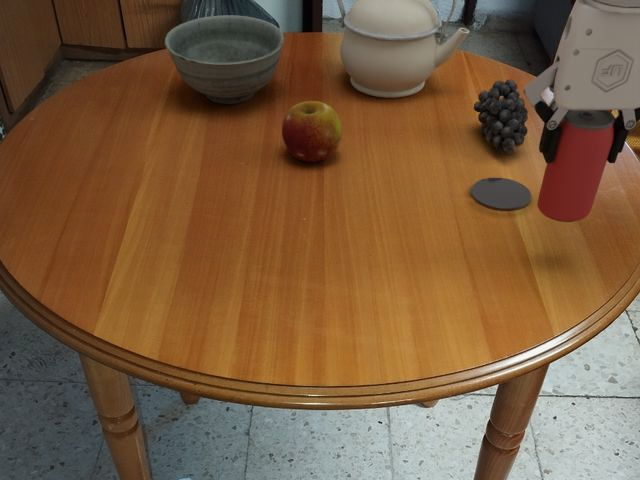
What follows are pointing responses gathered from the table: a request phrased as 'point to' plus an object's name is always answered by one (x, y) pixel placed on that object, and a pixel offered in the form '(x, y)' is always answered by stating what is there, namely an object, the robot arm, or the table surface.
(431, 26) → the kettle
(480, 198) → the coaster
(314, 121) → the fruit
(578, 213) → the beer can
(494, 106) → the fruit
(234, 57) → the bowl
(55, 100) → the table surface
